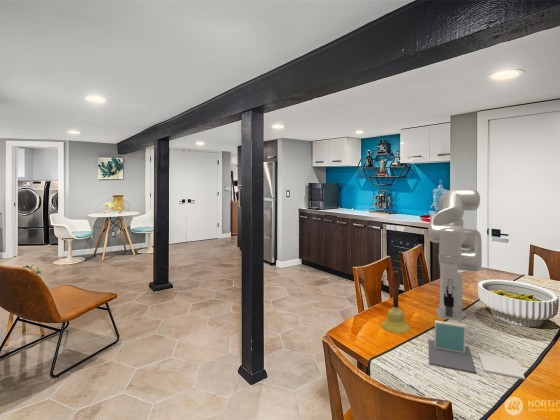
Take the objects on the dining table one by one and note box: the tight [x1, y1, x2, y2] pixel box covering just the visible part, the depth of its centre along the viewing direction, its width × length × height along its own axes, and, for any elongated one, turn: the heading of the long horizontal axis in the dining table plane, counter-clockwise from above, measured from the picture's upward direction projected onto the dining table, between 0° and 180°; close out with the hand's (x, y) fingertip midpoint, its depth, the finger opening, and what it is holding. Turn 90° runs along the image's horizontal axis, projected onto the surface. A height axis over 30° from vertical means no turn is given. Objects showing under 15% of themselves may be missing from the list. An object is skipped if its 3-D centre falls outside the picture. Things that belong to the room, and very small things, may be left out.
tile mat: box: [427, 339, 477, 375], centre depth 114 cm, size 18×14×1 cm
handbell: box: [380, 270, 411, 335], centre depth 136 cm, size 12×12×25 cm
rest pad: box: [478, 353, 526, 381], centre depth 106 cm, size 11×11×1 cm
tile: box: [433, 320, 467, 353], centre depth 117 cm, size 2×10×10 cm, turn 65°
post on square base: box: [436, 306, 462, 322], centre depth 124 cm, size 8×8×10 cm
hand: (448, 304), depth 124 cm, fingers closed on post on square base, 2 cm apart
